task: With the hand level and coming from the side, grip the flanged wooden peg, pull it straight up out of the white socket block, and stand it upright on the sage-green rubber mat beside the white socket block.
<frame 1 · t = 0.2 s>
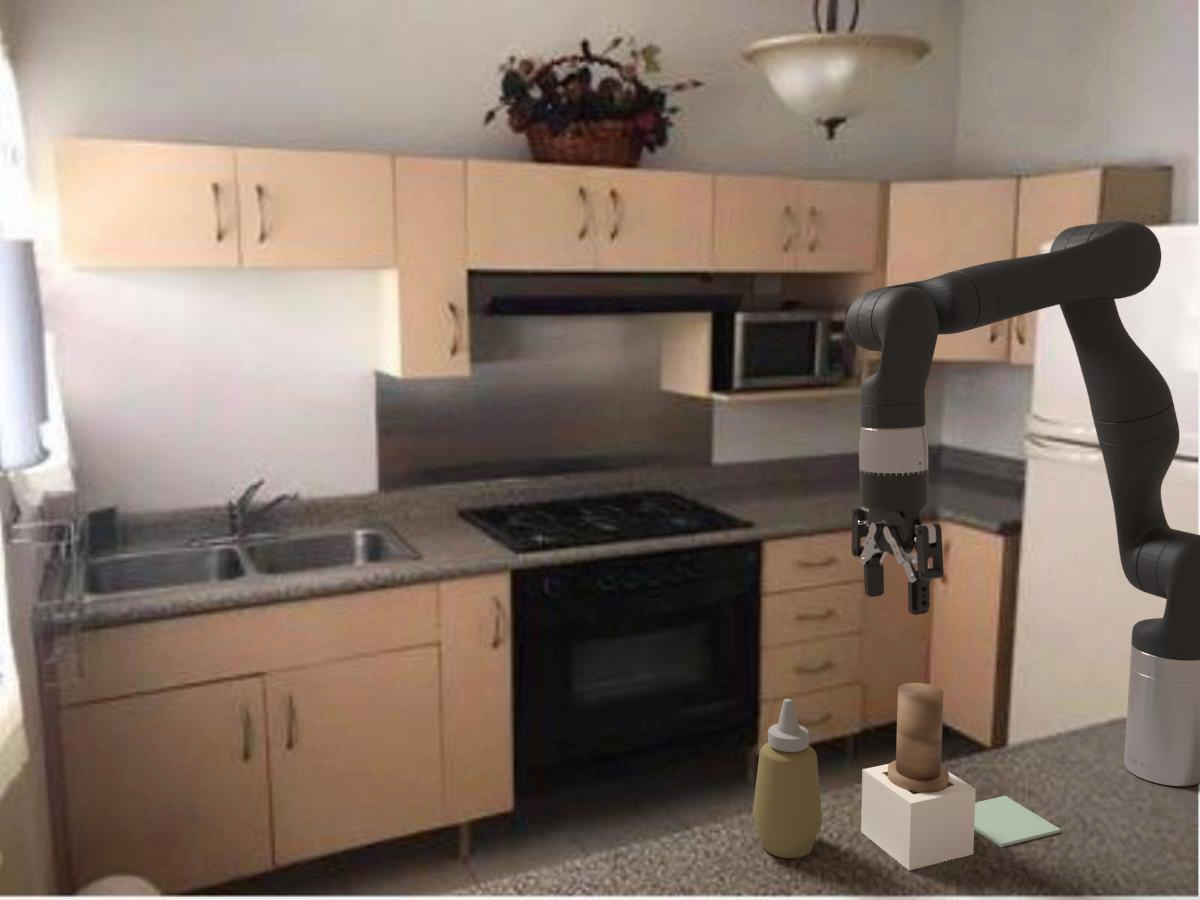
hand: (895, 604, 114), 29 cm above the countertop, tool pointing down, fingers open, 8 cm apart
white socket block: (915, 842, 116), on the countertop
flanged wooden peg: (917, 788, 115), point 7 cm above the countertop, touching white socket block
mat: (1003, 821, 121), on the countertop
squeeze bottle: (786, 848, 116), on the countertop
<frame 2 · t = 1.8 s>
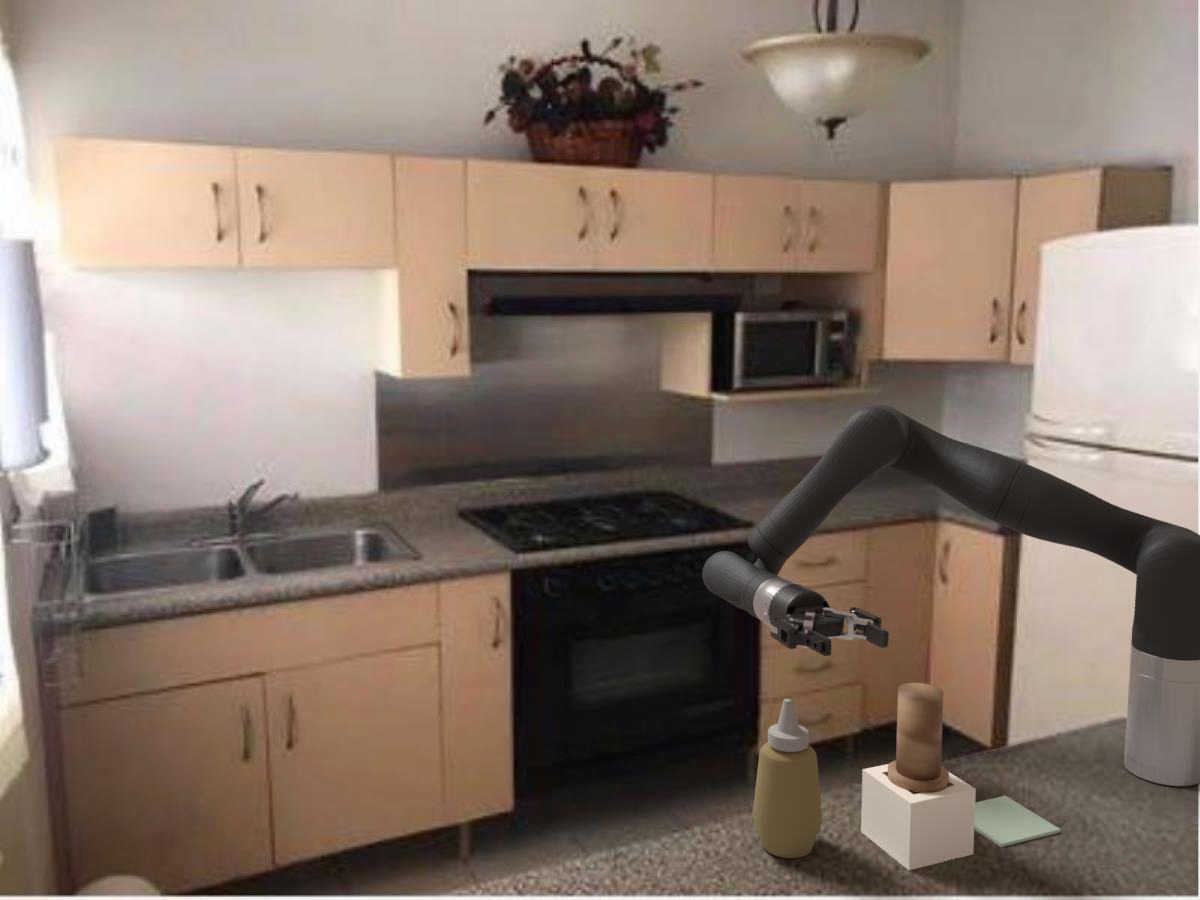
hand: (857, 644, 125), 21 cm above the countertop, tool horizontal, fingers open, 8 cm apart
nothing on the countertop moved.
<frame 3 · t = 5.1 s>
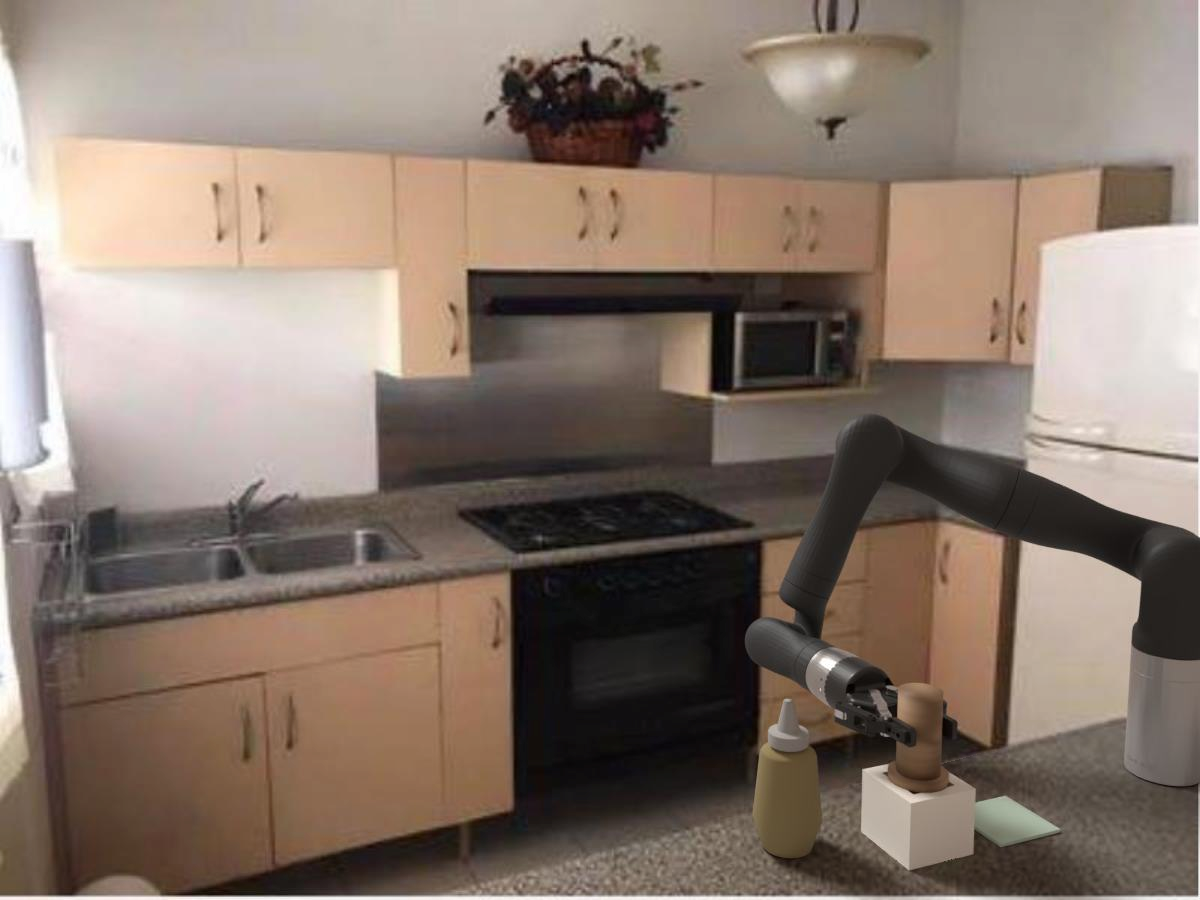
hand: (934, 734, 112), 14 cm above the countertop, tool horizontal, fingers closed on flanged wooden peg, 5 cm apart
flanged wooden peg: (917, 788, 115), point 7 cm above the countertop, touching white socket block, gripper
everything else where it was.
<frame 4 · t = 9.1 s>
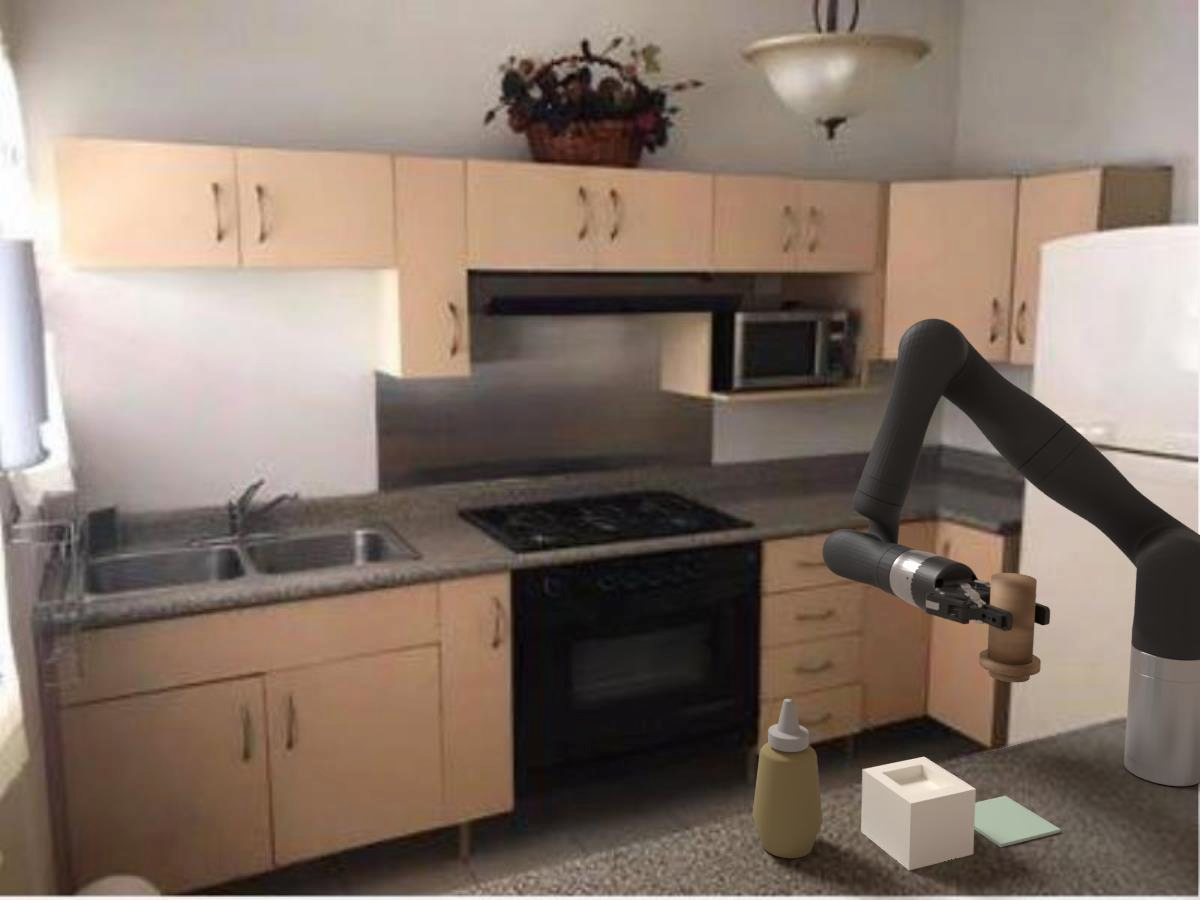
hand: (1028, 619, 115), 26 cm above the countertop, tool horizontal, fingers closed on flanged wooden peg, 5 cm apart
flanged wooden peg: (1008, 675, 118), point 19 cm above the countertop, touching gripper
everything else where it was.
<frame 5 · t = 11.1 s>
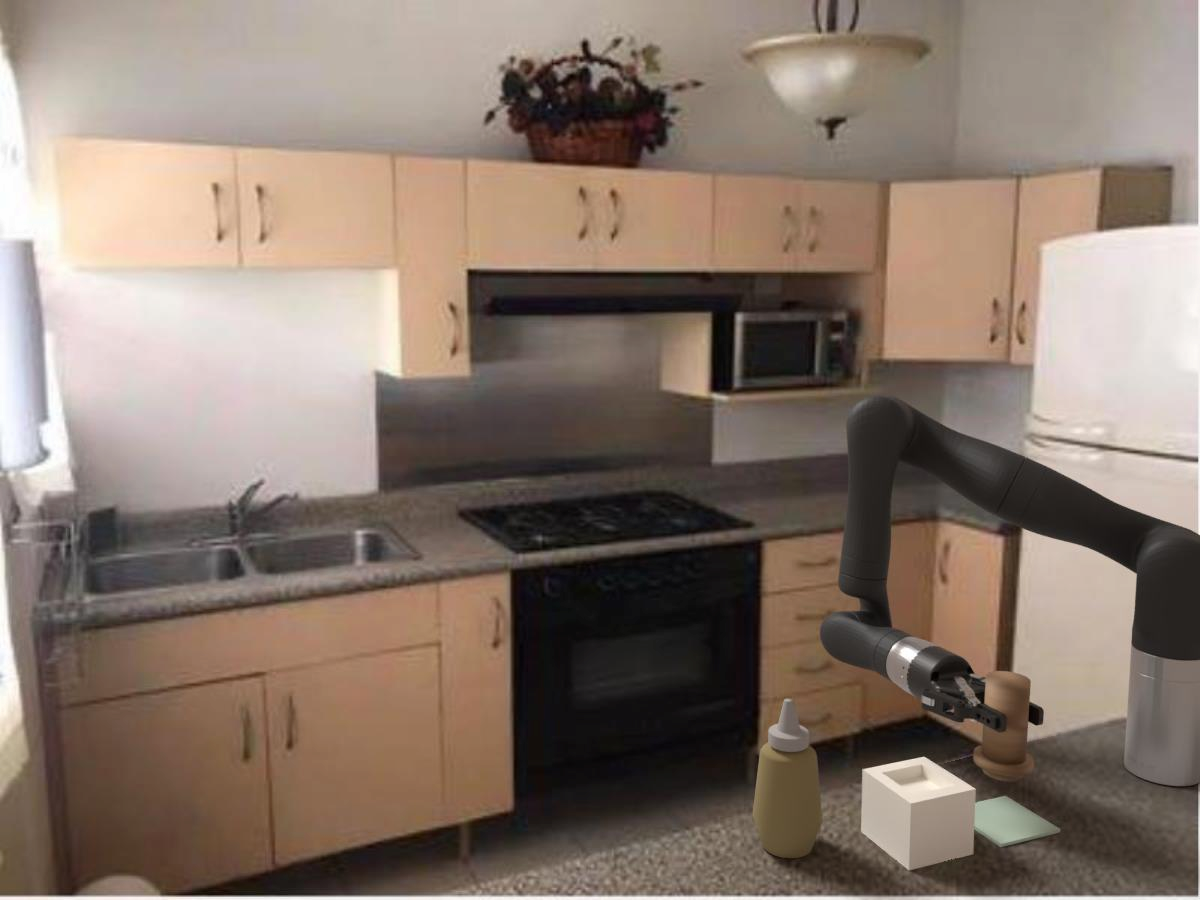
hand: (1022, 720, 117), 14 cm above the countertop, tool horizontal, fingers closed on flanged wooden peg, 5 cm apart
flanged wooden peg: (1002, 772, 120), point 6 cm above the countertop, touching gripper
everything else where it was.
when the fingers open (10 cm above the countertop, at t = 12.9 s): flanged wooden peg drops 2 cm, resting on mat.
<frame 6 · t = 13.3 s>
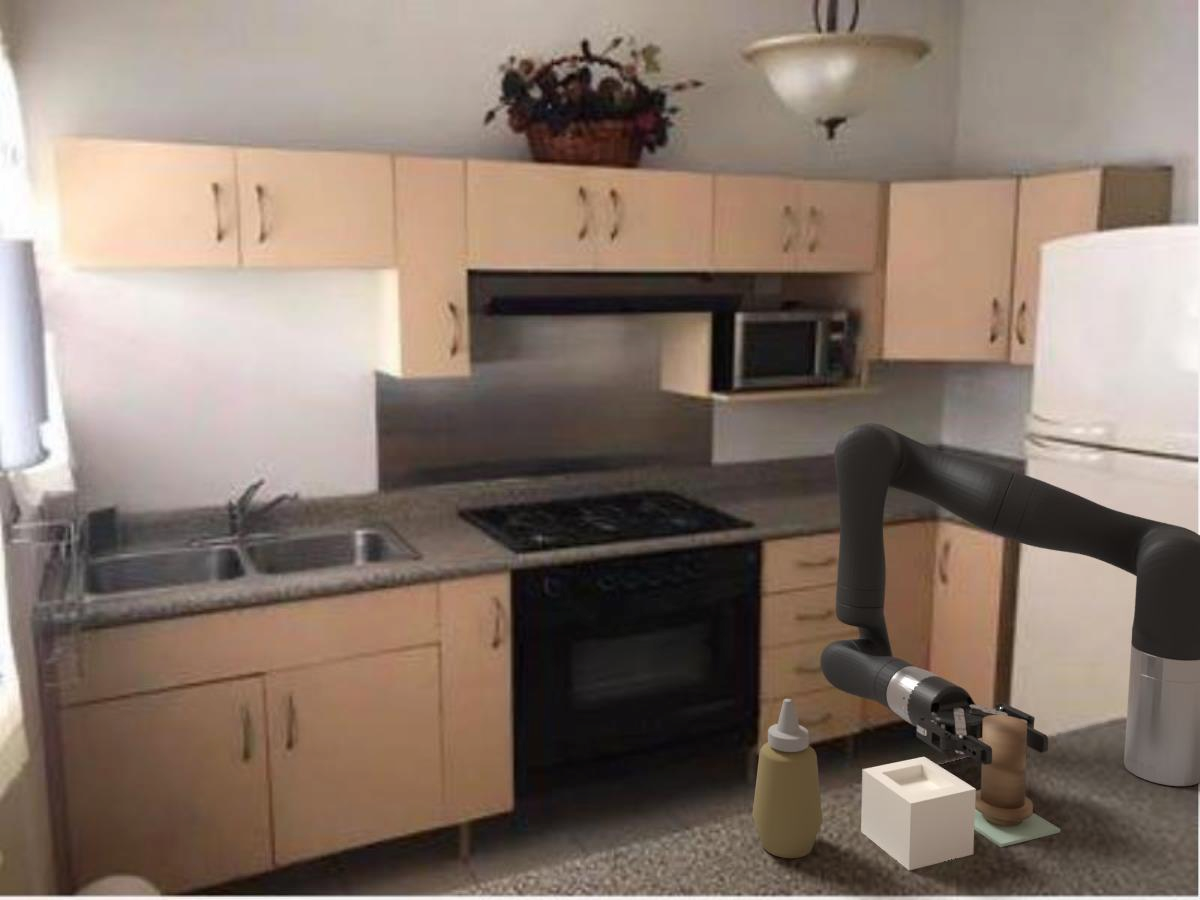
hand: (1018, 750, 118), 10 cm above the countertop, tool horizontal, fingers open, 8 cm apart
flanged wooden peg: (1002, 817, 121), point 1 cm above the countertop, touching mat
everything else where it was.
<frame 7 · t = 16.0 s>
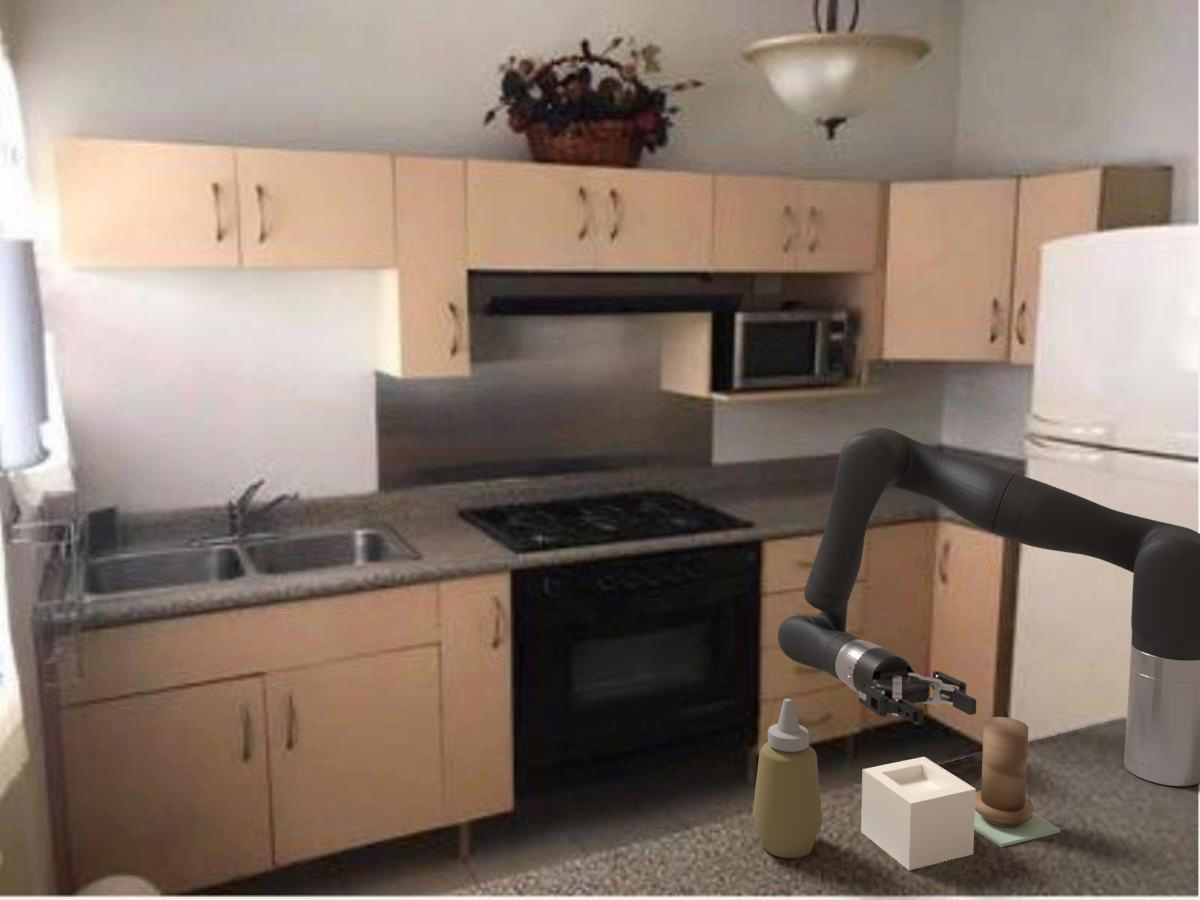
hand: (948, 712, 129), 10 cm above the countertop, tool horizontal, fingers open, 8 cm apart
nothing on the countertop moved.
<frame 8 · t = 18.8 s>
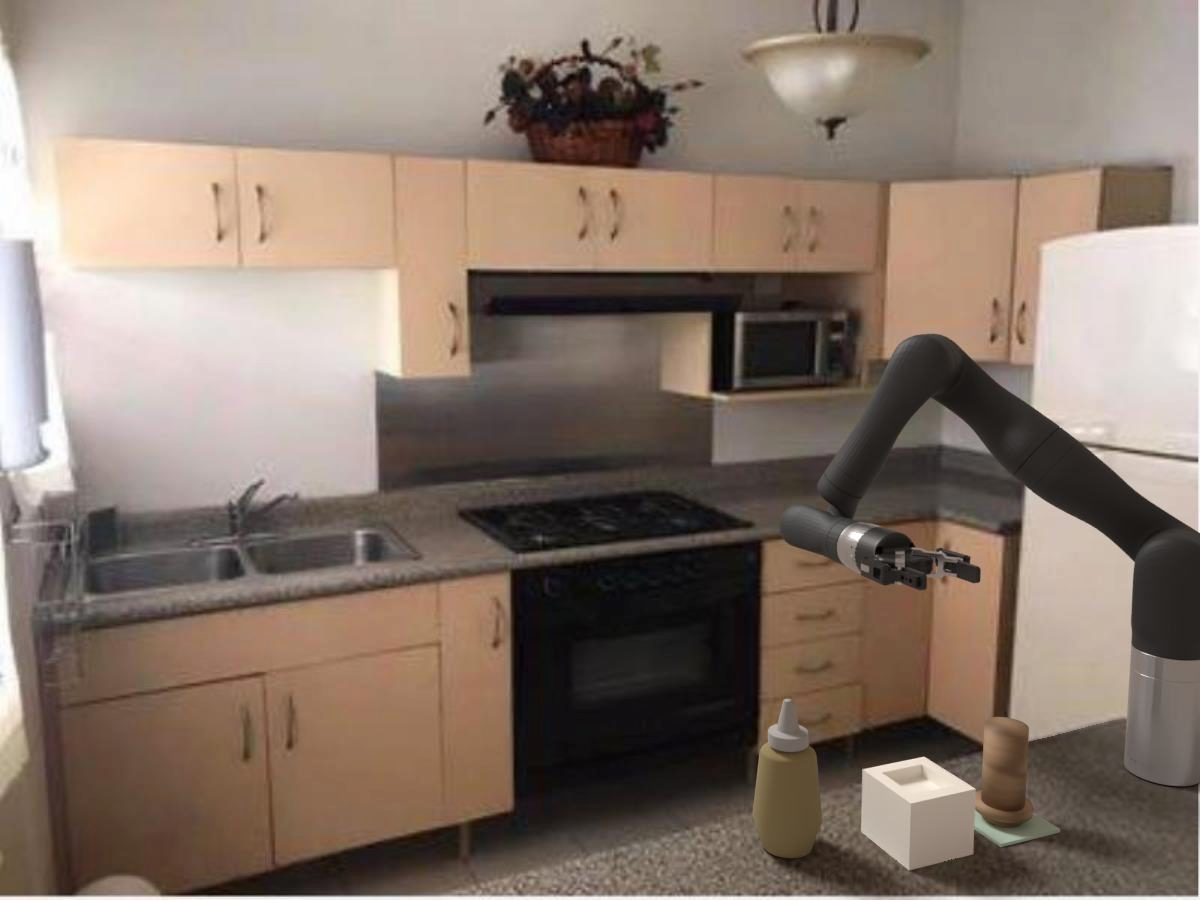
hand: (951, 579, 127), 28 cm above the countertop, tool horizontal, fingers open, 8 cm apart
nothing on the countertop moved.
at the end: flanged wooden peg inside the target area (0.1 cm from its centre), on the countertop; flanged wooden peg tilted 0°; the gripper is holding nothing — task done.
